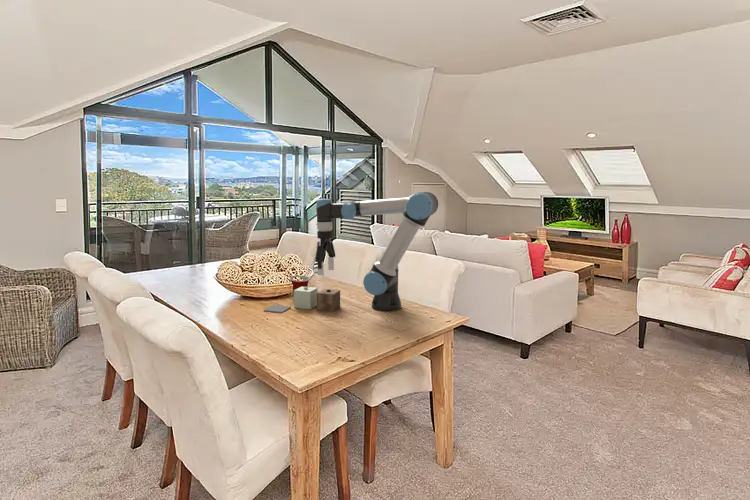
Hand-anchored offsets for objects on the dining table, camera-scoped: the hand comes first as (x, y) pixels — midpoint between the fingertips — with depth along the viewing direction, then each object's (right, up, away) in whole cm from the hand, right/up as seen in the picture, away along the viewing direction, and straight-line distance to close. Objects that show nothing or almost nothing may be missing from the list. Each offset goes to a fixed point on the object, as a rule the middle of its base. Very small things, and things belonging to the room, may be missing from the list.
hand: (326, 272), depth 238 cm
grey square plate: (-24, -19, +1) cm, 31 cm away
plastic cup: (-16, -16, +21) cm, 31 cm away
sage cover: (-11, -18, +7) cm, 22 cm away
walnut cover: (+1, -18, +3) cm, 19 cm away
